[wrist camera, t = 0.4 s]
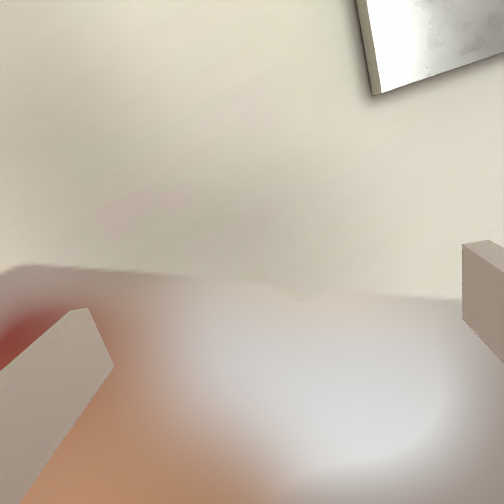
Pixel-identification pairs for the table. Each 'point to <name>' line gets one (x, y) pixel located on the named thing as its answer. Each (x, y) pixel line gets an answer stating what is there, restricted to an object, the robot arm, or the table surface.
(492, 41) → the grey serving tray
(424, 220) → the table surface
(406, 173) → the table surface
